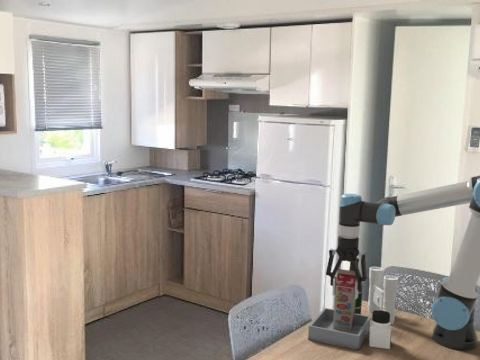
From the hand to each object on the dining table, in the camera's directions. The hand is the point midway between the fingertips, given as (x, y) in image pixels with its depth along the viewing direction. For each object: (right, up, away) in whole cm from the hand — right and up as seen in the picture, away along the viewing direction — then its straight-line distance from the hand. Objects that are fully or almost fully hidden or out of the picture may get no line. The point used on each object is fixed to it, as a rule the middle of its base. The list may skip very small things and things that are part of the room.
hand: (345, 296), depth 203 cm
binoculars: (+17, -12, +16) cm, 27 cm away
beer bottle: (+5, -11, +16) cm, 20 cm away
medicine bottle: (+10, -15, -10) cm, 21 cm away
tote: (-2, -13, -2) cm, 14 cm away
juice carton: (0, -12, +2) cm, 12 cm away
